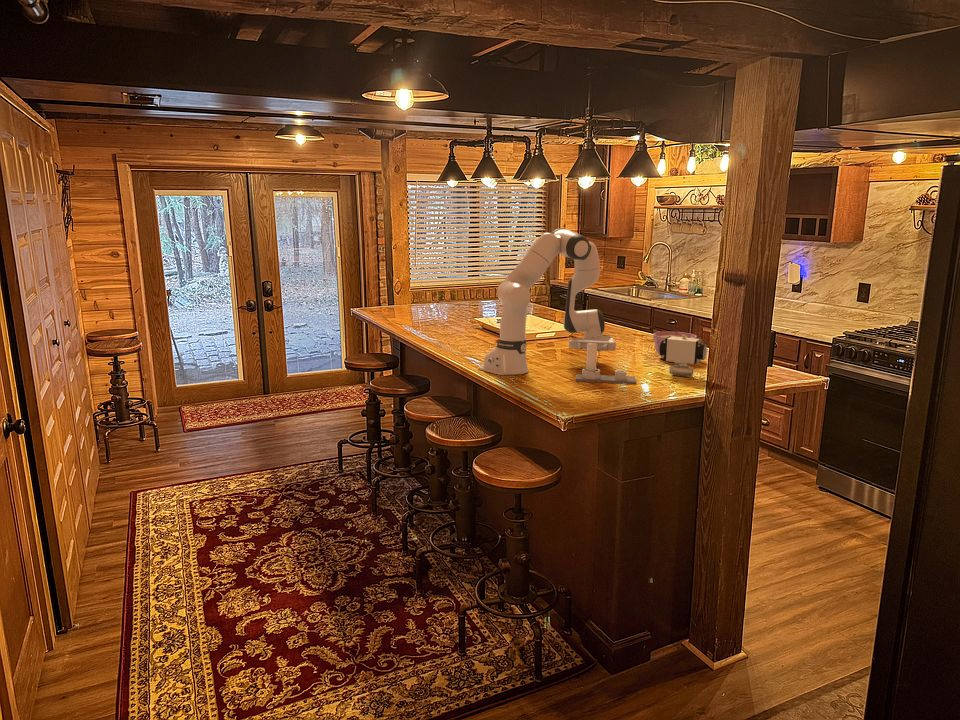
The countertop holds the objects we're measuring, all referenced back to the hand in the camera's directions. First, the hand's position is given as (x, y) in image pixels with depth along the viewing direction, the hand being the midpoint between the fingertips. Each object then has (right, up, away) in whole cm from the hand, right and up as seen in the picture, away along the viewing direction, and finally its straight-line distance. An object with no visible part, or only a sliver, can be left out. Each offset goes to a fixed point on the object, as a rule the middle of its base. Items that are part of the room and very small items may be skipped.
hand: (591, 347), depth 284 cm
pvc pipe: (-2, -12, -9) cm, 16 cm away
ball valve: (+38, -12, -2) cm, 40 cm away
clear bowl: (+44, -5, +32) cm, 55 cm away
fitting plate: (+4, -14, -10) cm, 18 cm away
